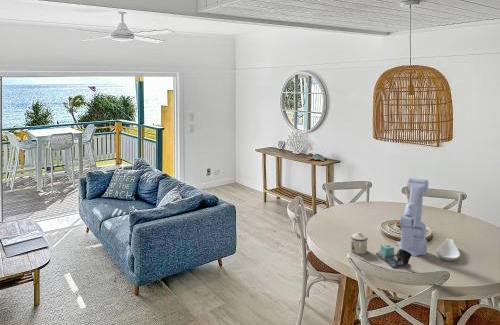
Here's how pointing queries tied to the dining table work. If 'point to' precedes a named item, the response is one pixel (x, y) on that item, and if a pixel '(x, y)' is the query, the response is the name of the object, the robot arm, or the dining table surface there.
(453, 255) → the spoon rest
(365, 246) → the teacup with lid
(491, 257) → the dining table surface
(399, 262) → the ram lever
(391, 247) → the block
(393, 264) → the press base
